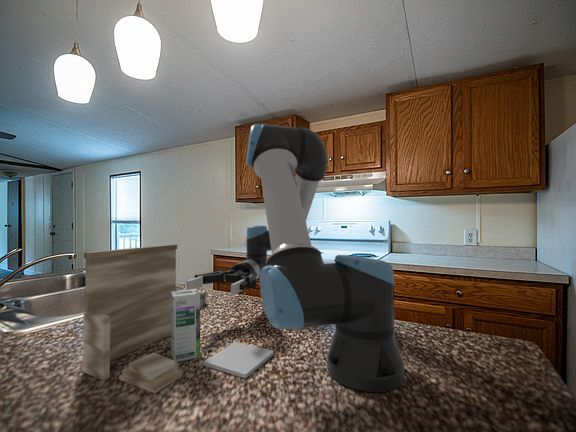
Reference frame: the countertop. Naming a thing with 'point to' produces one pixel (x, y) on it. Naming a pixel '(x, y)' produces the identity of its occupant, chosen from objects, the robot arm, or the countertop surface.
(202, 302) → the egg carton
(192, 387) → the countertop surface
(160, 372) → the offcut stack
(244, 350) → the mat
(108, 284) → the wood grain panel
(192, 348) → the syrup box
